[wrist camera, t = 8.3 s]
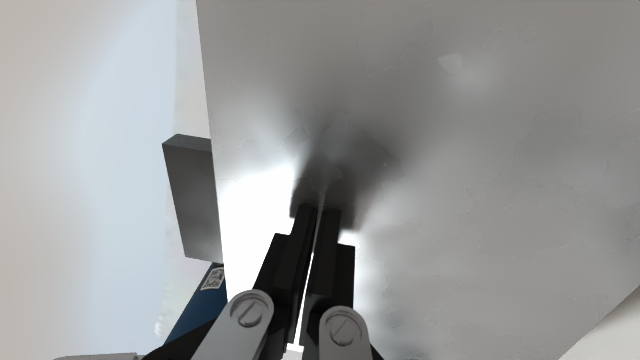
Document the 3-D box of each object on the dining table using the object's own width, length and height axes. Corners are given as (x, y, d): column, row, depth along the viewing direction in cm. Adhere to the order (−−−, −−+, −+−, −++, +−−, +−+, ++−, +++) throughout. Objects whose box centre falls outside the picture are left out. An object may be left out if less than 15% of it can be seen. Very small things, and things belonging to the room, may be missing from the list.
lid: (858, 9, 7) (944, 9, 6) (509, 371, 17) (518, 395, 16) (143, -74, 8) (110, -85, 7) (209, 312, 18) (199, 331, 17)
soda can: (287, 284, 31) (251, 417, 21) (233, 289, 33) (176, 413, 23) (264, 238, 28) (207, 368, 18) (205, 247, 30) (124, 369, 20)
